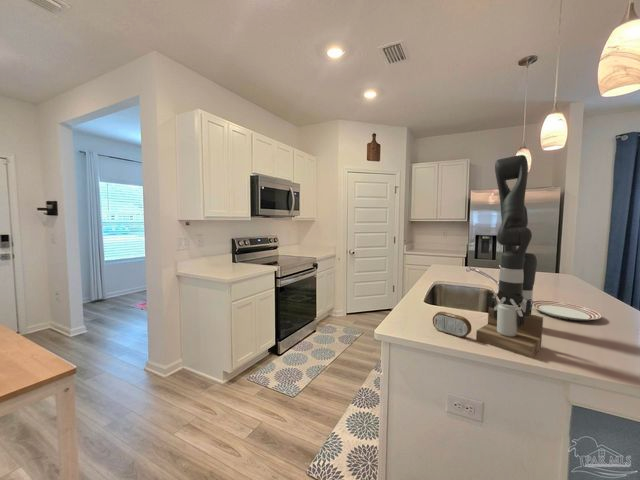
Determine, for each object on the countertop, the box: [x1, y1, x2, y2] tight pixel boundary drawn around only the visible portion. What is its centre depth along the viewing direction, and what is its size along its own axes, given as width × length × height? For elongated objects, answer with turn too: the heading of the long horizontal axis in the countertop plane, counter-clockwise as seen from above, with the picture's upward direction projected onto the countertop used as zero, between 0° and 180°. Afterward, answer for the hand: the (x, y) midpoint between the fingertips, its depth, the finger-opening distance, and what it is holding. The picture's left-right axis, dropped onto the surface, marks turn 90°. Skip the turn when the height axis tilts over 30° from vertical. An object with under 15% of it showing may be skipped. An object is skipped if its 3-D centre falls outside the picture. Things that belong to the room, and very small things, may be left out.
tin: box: [432, 311, 472, 338], centre depth 117 cm, size 15×3×8 cm, turn 45°
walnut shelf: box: [475, 306, 544, 359], centre depth 107 cm, size 12×18×12 cm, turn 39°
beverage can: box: [497, 303, 518, 337], centre depth 107 cm, size 6×6×12 cm
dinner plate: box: [532, 299, 603, 321], centre depth 142 cm, size 28×27×3 cm
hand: (508, 322), depth 107 cm, fingers open, 7 cm apart
